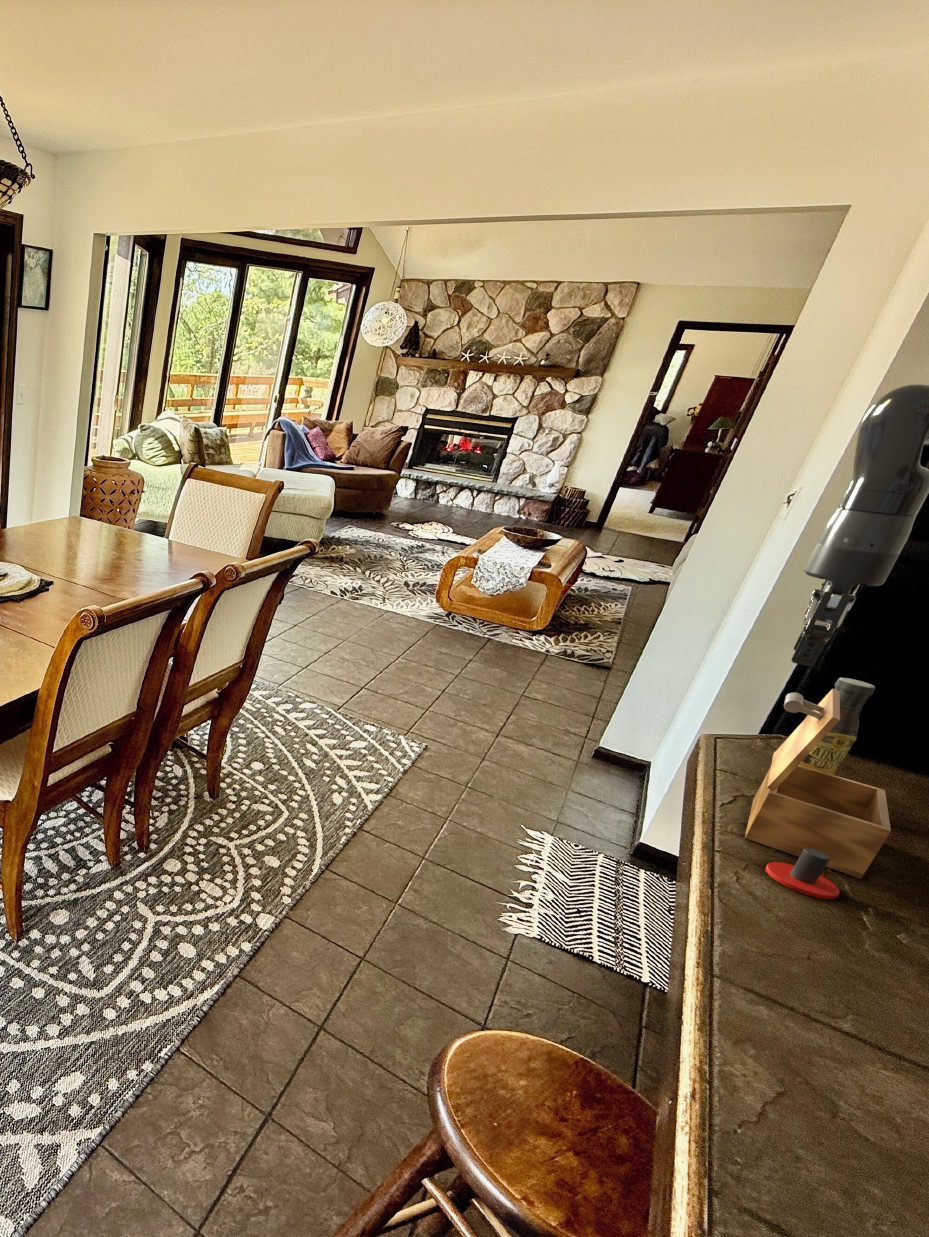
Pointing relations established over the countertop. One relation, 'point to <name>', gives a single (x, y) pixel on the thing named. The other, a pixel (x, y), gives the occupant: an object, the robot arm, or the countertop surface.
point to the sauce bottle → (840, 727)
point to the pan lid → (805, 874)
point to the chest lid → (803, 733)
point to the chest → (821, 818)
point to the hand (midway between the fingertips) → (802, 658)
